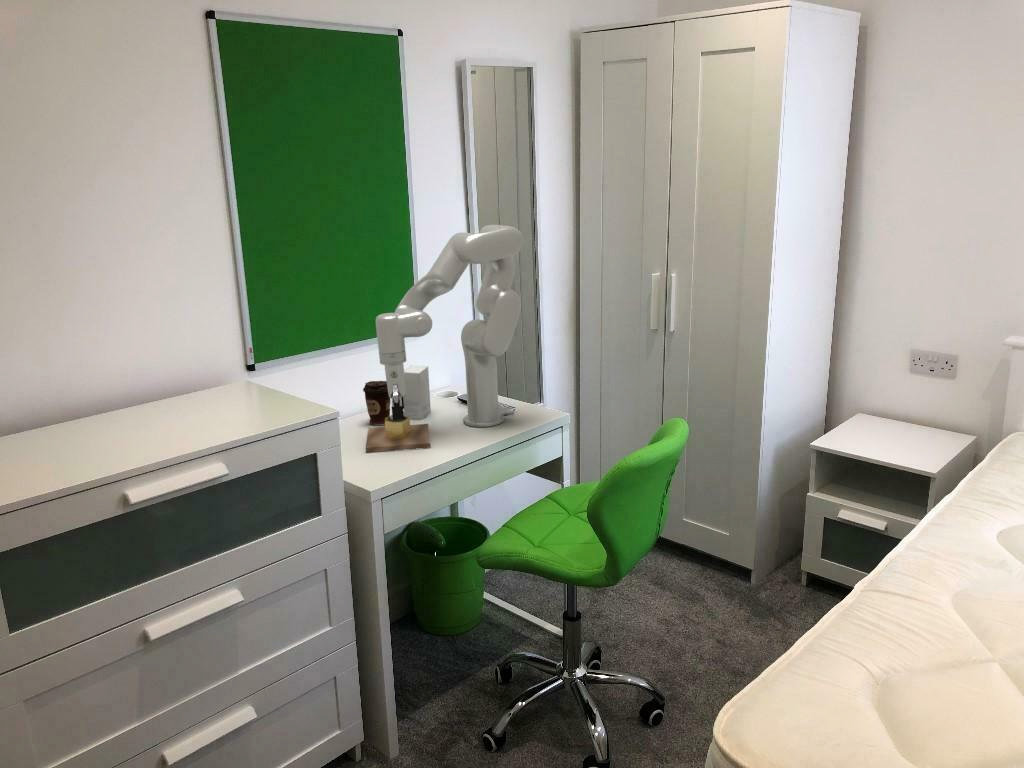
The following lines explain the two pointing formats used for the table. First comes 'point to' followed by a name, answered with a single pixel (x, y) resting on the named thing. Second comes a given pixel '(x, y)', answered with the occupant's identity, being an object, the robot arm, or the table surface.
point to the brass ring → (397, 428)
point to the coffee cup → (377, 401)
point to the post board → (381, 443)
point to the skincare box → (417, 392)
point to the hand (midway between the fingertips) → (398, 414)
